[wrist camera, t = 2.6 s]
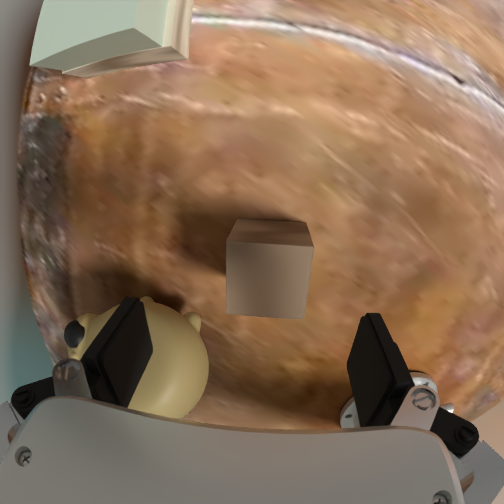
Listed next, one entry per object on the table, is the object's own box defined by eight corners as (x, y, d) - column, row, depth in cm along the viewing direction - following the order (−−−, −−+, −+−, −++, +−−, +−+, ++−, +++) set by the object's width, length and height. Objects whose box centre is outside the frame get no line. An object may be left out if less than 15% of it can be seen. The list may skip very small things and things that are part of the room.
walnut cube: (306, 222, 21) (313, 246, 16) (299, 282, 22) (303, 319, 18) (237, 217, 21) (226, 241, 16) (236, 278, 23) (226, 313, 18)
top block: (176, -42, 10) (156, -69, 6) (162, 46, 13) (133, 27, 10) (82, -13, 11) (53, -28, 7) (66, 71, 14) (29, 65, 10)
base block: (198, -28, 13) (185, -51, 10) (189, 60, 17) (170, 46, 13) (104, -4, 14) (80, -18, 10) (91, 79, 18) (61, 73, 14)
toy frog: (97, 268, 24) (25, 334, 14) (221, 287, 23) (185, 385, 13) (114, 347, 28) (68, 417, 18) (218, 370, 27) (196, 459, 17)
